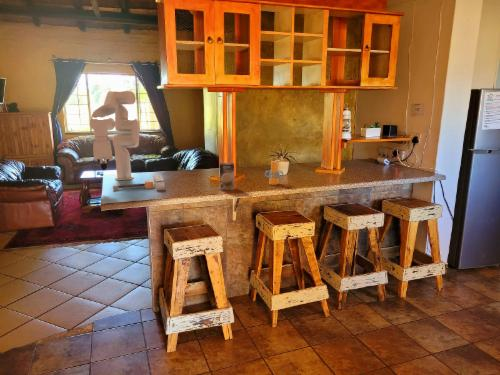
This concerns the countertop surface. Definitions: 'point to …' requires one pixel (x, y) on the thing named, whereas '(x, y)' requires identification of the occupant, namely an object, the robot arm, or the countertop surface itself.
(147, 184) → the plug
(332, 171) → the countertop surface
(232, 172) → the coffee box
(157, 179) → the motor housing
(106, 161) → the robot arm
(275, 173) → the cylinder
